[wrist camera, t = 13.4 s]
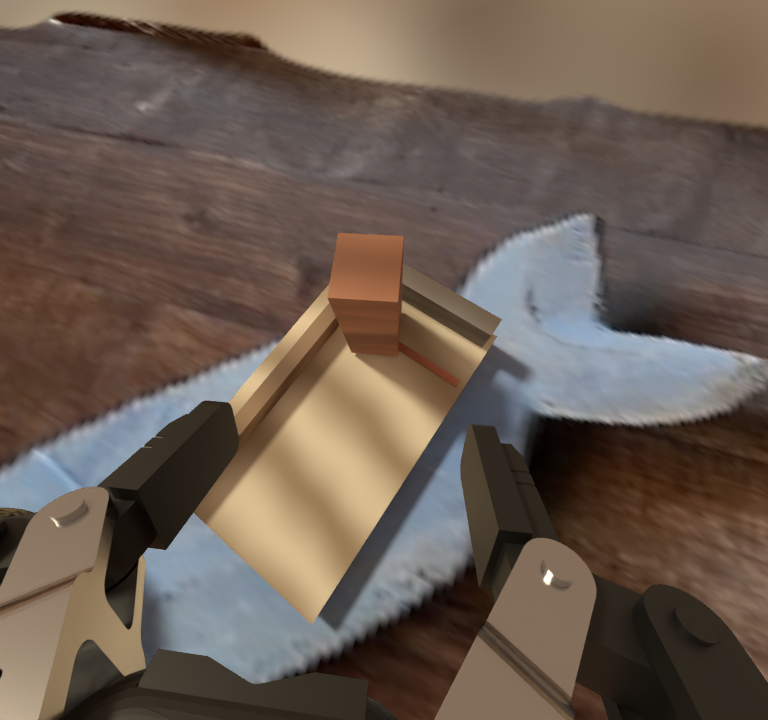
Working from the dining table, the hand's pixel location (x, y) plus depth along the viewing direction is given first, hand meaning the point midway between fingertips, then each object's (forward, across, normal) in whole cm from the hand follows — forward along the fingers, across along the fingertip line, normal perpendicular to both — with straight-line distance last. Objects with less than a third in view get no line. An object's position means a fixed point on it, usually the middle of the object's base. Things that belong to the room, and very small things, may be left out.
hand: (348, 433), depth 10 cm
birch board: (+11, -3, -8) cm, 14 cm away
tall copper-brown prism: (+15, -1, -2) cm, 15 cm away
